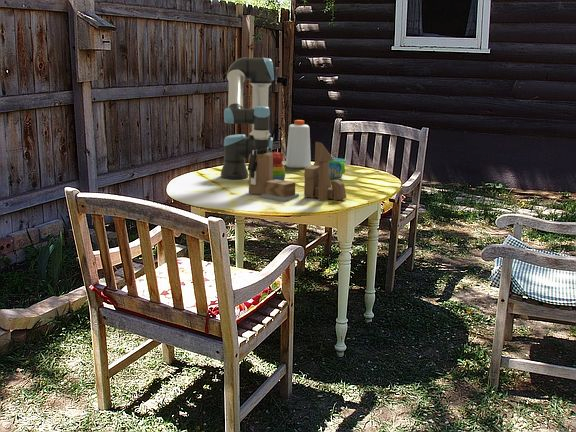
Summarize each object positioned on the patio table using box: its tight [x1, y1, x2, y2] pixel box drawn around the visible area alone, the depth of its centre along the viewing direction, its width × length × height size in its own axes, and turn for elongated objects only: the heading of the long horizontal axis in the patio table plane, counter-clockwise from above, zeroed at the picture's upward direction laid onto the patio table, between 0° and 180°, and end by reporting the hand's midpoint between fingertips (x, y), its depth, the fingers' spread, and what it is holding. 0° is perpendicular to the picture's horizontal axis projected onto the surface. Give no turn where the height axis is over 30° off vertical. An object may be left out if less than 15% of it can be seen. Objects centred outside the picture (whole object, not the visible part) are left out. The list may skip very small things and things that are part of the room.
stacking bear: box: [271, 151, 286, 181], centre depth 348 cm, size 11×10×18 cm
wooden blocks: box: [303, 141, 348, 202], centre depth 323 cm, size 24×20×28 cm
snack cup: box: [329, 157, 346, 179], centre depth 377 cm, size 16×10×10 cm
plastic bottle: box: [285, 119, 312, 169], centre depth 408 cm, size 15×15×28 cm
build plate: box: [261, 192, 300, 202], centre depth 323 cm, size 13×13×2 cm
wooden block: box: [248, 152, 273, 196], centre depth 329 cm, size 10×10×20 cm
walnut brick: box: [265, 179, 296, 197], centre depth 322 cm, size 12×8×6 cm, turn 51°
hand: (260, 182), depth 330 cm, fingers closed on wooden block, 12 cm apart
